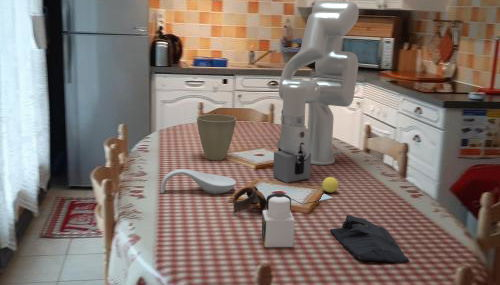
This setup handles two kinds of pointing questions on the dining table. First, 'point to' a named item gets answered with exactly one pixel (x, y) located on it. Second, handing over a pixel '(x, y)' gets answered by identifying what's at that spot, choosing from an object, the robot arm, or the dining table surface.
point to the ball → (330, 184)
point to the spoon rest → (203, 181)
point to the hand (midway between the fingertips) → (291, 170)
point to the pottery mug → (249, 199)
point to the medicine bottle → (278, 222)
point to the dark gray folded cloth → (369, 241)
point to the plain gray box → (289, 167)
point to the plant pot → (216, 135)
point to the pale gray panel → (325, 197)
